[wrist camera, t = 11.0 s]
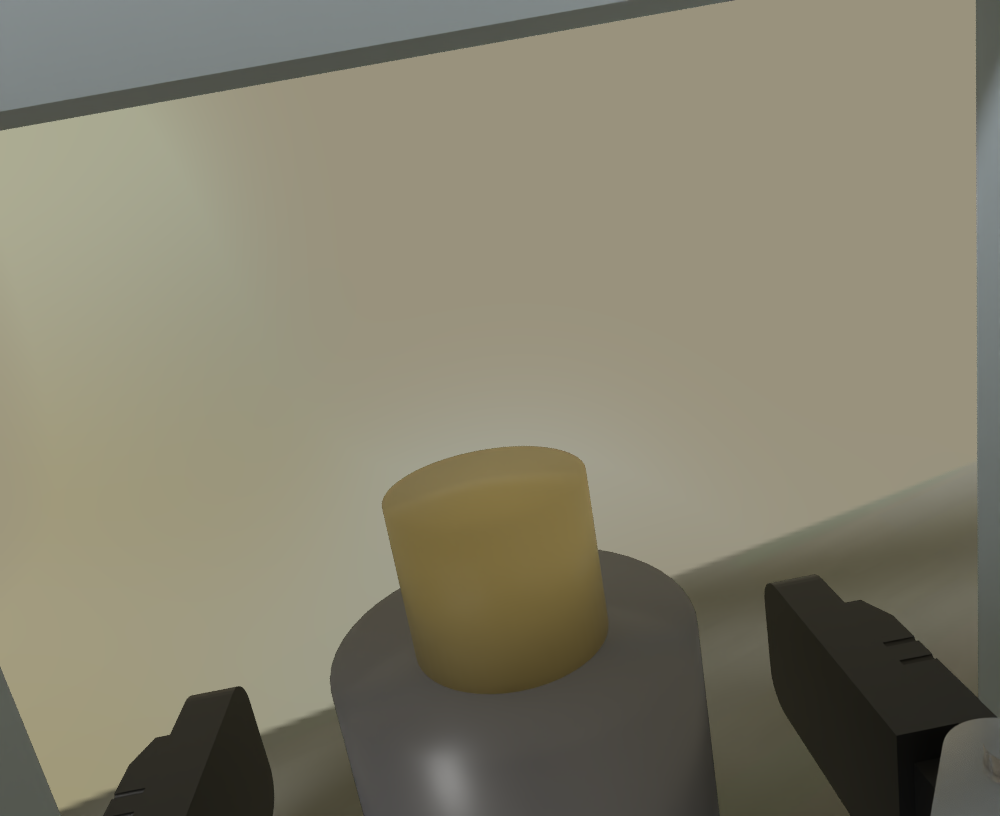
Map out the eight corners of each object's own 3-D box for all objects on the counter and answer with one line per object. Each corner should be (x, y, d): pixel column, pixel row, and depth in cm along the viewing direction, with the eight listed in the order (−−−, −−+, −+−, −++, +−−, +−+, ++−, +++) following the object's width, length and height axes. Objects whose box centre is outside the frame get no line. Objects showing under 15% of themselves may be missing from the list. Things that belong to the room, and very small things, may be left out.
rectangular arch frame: (-30, 1097, 17) (-566, 45, 11) (18, 1002, 19) (-418, 63, 13) (1153, 852, 17) (1236, -265, 12) (1081, 784, 19) (1122, -204, 13)
